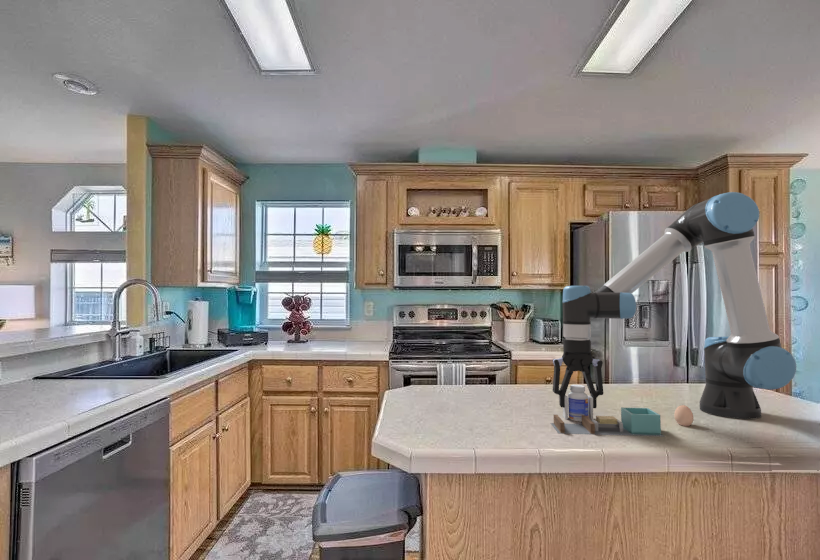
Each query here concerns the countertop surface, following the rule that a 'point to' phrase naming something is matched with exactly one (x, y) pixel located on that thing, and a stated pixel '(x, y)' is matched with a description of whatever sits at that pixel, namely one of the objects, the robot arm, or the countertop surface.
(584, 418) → the trough
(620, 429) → the cradle base
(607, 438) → the countertop surface
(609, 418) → the pad
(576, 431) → the mat
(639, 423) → the teal open box
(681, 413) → the egg
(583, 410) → the pill bottle
